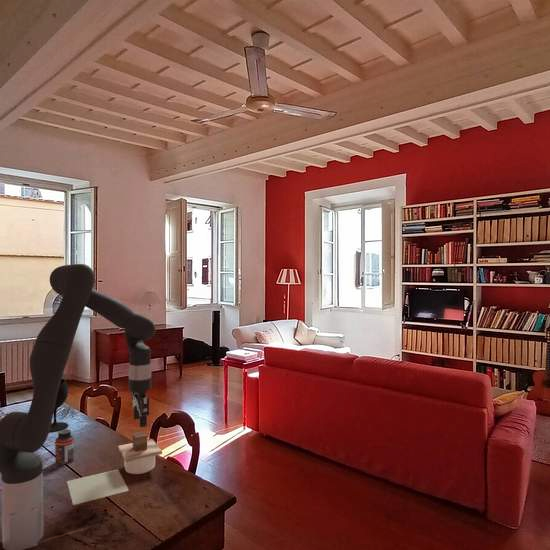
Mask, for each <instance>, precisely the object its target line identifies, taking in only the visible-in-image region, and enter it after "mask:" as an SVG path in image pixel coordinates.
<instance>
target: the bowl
mask: <svg viewBox="0 0 550 550" xmlns="http://www.w3.org/2000/svg"><path fill="white" fill-rule="evenodd" d="M123 460H124V465H123V466H124V470H125V472H126V473H128V474H132V475H140V474H145V473H148V472H150V471H152V470H154V469H155V466H156V456H152V457H147V458H143V459H139V460H134V461H130V462H126V461H125V459H124V458H123Z"/></svg>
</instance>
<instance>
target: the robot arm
mask: <svg viewBox="0 0 550 550" xmlns="http://www.w3.org/2000/svg"><path fill="white" fill-rule="evenodd" d="M95 282H96V281H95V273H94V270H93V269H92V268H91V267H90V266H89V265H87V264H86V263H85V264H84V263H75V264H65V265H61V266H58V267H55V268H54V269H53V270H52V271H51V272H50V275H49V285H50V286H51V288H52V290H53V291H54V292H55V293H56V294H58V295H60V296H61V298H62V299H61V301H60V304H59V305H58V308H57V309H56V311H55V312H54V314H53V315H52V316H51V317H50V319H48V321H47V322H46V323H45V324H44V326H43V327H42V328H41V330H40V331H39V333H38V335H37V336H36V339H35V341H34V343H33V347H32V349H31V353H30V357H29V371H30V375H31V380H32V386H33V388H32V389H33V391H32V392H33V393H32V399H31V404H30V406H29V409H28V412H23V411H12V412H9V413H7V414H6V415H4V416H3V417H2V418H1V420H0V475H1V526H2V527H1V528H2V529H1V531H2V533H1V534H2V537H1V538H2V539H1V540H2V548H3V550H27V549H30V548H34V547H37V546H38V545H39V542H41V539H42V538H43V536H44V495H43V494H44V491H43V489H44V487H43V486H44V483H43V481H44V477H43V475H44V474H43V468H44V467H43V466H44V465H43V461H42V458H40V457H39V456H37V455H36V454H35V452H37V451H38V450H40V449H41V448H42V447H43V446H44V444H45V442H46V441H47V439H48V437H49V434H50V432H49V431H50V427H51V423H53V422H52V421H53V419H54V408H55V403H56V398H57V394H58V390H59V386H60V383H61V379H63V375H64V372H65V370H66V366H67V363H68V361H69V357H70V354H71V352H72V351H71V350H72V348H73V347H72V346H73V342H74V339H75V337H76V333H77V332H78V331H77V330H78V327H79V325H80V320H81V319H82V317H83V313H84V311H85V308H88V309H89V310H91V311H92V312H95V313H97V314H98V315H99V316H101V317H103V318H104V319H106V320H107V321H109V323H111V324H112V325H115V326H116V327H118V328H120V329H123V330H124V336H125V340H126V344H127V347H128V352H129V359H128V361H129V362H128V363H129V365H128V366H129V368H128V391H129V392H131V406H132V409H133V419H134V420H139V427H140V428H144V427H147V425H148V419H147V417H148V416H150V398H149V397H148V395H147V394H146V393H147V392H149V391H150V390H151V389H152V365H151V359H152V358H151V353H152V352H151V348H150V347H149V346H148V345H146V344H145V343H144V341H148V340H151V339H152V338H153V337H154V336H155V334H156V326H155V323H154V322H153V321H152V320H151V319H150V318H148V317H146V316H144V315H143V314H140V313H139V312H136V311H134V310H132V309H131V308H130V307H128V306H127V305H126V304H124V302H122V301H120V300H119V299H117V298H115V297H113V296H110V295H108V294H106V293H103V292H100V291H99V290H97V289H94V287H95Z"/></svg>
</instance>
